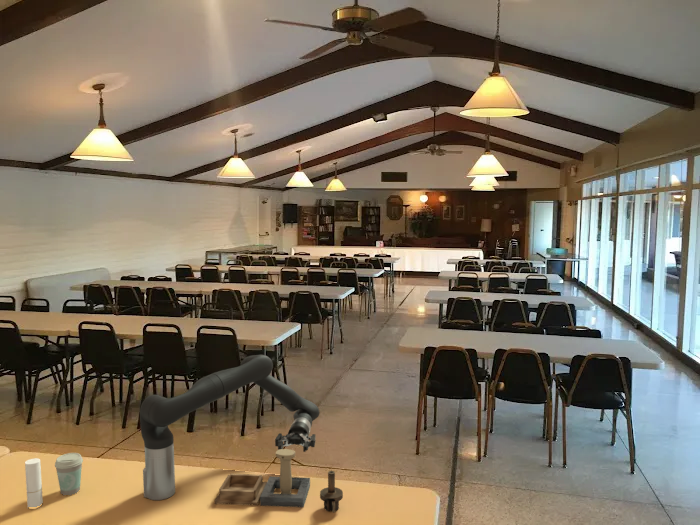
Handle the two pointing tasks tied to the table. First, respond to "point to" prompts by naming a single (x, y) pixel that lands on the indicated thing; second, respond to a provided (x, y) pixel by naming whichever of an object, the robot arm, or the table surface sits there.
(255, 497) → the tray
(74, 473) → the coffee cup
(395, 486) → the table surface
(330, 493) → the industrial component
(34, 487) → the tube
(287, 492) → the handle
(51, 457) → the table surface
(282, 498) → the socket block
